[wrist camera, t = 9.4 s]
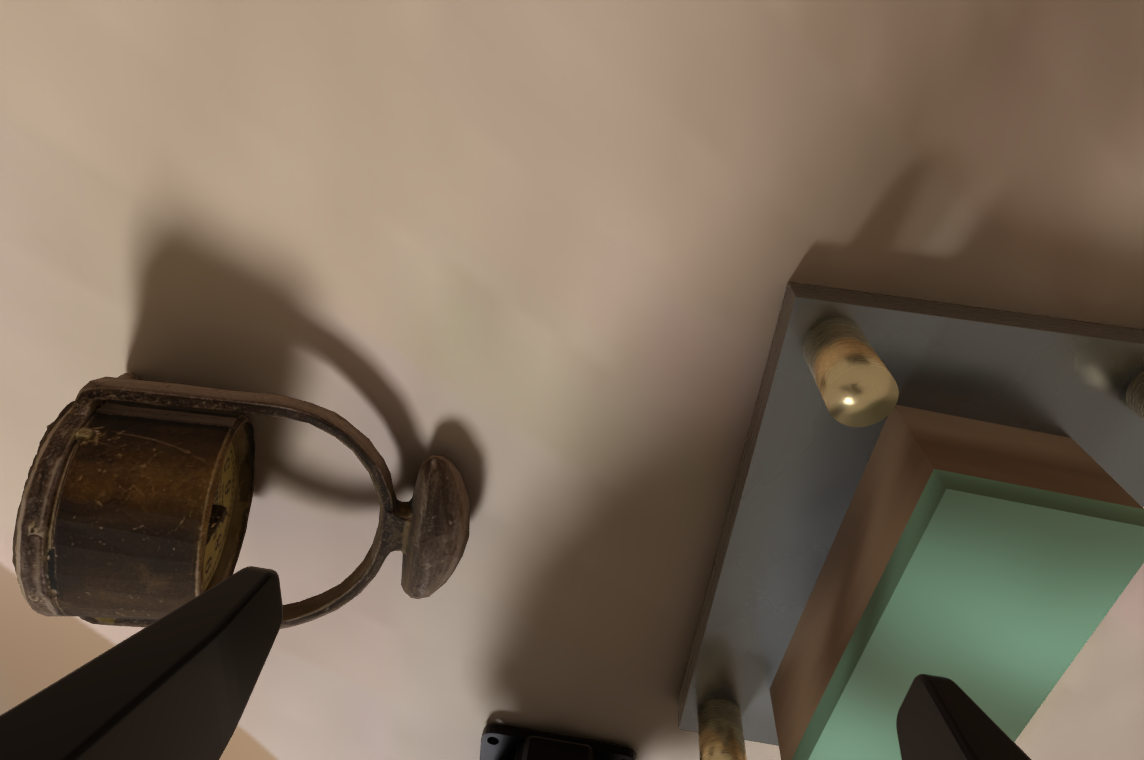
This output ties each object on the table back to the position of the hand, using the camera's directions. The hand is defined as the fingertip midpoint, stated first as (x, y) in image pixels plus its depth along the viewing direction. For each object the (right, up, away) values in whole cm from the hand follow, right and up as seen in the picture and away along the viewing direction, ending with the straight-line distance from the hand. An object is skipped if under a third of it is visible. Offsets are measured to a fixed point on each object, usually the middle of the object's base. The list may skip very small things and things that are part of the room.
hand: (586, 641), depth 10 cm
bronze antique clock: (-10, 0, +15) cm, 18 cm away
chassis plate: (+10, -2, +13) cm, 17 cm away
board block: (+10, -3, +12) cm, 16 cm away
